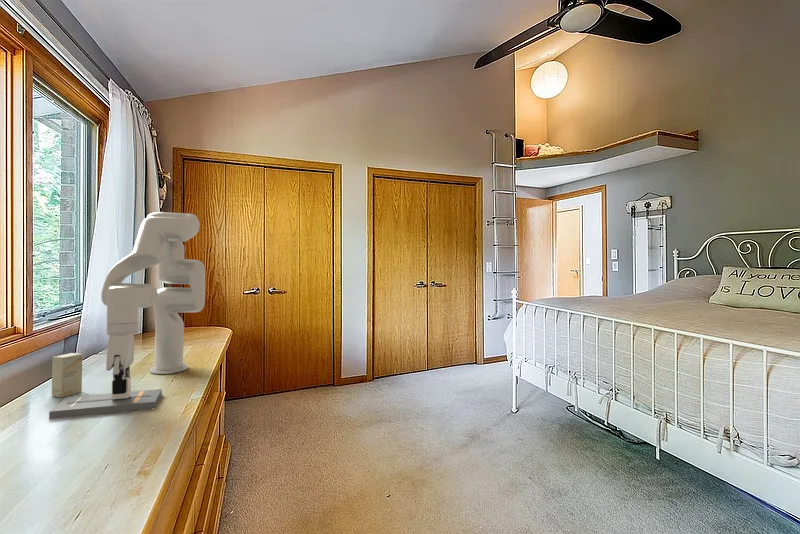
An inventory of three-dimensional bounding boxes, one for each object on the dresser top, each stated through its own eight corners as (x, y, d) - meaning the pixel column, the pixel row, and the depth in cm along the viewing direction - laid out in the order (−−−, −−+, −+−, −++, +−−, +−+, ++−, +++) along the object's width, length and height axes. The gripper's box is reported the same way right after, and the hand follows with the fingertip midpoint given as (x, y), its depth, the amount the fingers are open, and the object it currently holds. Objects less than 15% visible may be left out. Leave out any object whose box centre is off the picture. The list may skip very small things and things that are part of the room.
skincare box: (62, 397, 122) (63, 357, 121) (50, 396, 122) (51, 356, 122) (82, 391, 128) (83, 353, 128) (71, 390, 129) (71, 352, 128)
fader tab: (114, 395, 118) (114, 377, 118) (130, 394, 119) (131, 376, 119) (111, 399, 115) (111, 380, 115) (128, 398, 116) (128, 379, 116)
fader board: (66, 403, 117) (66, 396, 117) (161, 395, 126) (161, 388, 126) (49, 419, 106) (49, 411, 106) (154, 408, 115) (154, 401, 115)
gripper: (115, 324, 123) (114, 384, 123) (97, 334, 108) (96, 402, 108) (143, 323, 126) (142, 382, 126) (130, 332, 111) (129, 399, 111)
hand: (121, 390), depth 117 cm, fingers closed on fader tab, 3 cm apart
